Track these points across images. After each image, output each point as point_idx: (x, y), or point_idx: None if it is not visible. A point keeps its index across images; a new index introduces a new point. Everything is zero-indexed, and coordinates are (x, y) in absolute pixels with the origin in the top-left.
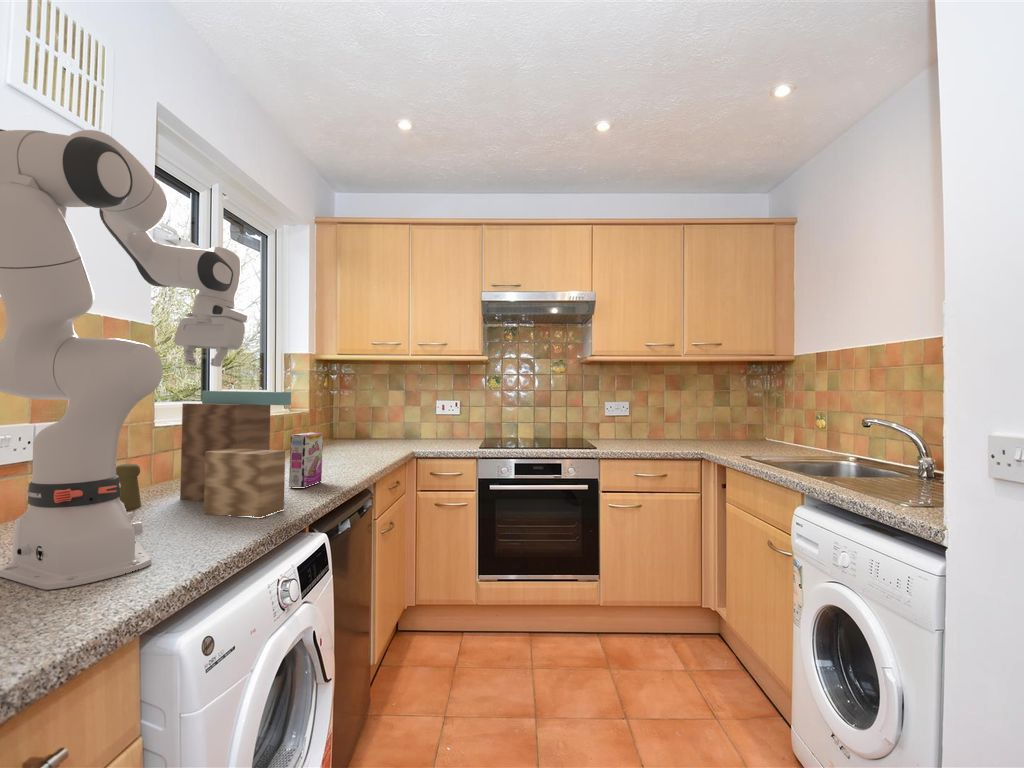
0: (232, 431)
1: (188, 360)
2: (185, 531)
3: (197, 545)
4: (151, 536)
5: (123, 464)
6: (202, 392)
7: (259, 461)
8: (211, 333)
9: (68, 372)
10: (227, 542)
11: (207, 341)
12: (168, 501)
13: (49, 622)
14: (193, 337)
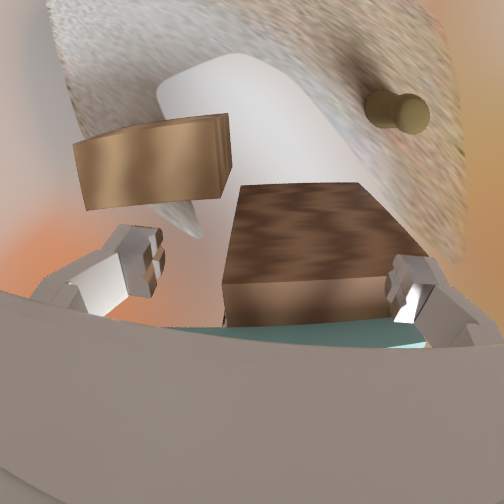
0: (246, 240)
1: (409, 266)
2: (165, 39)
3: (102, 17)
4: (187, 7)
5: (418, 109)
6: (423, 337)
7: (84, 140)
8: (56, 454)
9: None
10: (81, 41)
11: (135, 363)
12: (363, 164)
13: None
14: (439, 426)
